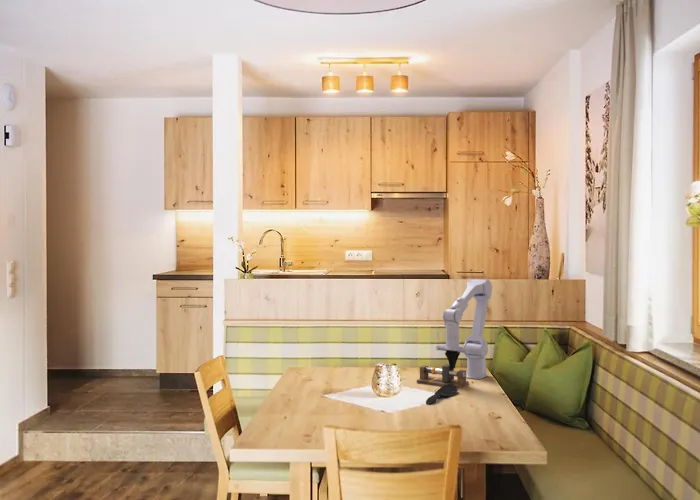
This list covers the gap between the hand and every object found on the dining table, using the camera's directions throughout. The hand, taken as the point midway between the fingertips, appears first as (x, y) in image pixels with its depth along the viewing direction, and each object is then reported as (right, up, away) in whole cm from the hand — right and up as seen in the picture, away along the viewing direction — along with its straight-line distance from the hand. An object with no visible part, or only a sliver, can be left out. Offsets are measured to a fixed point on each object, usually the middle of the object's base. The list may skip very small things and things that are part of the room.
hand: (452, 368), depth 289 cm
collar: (-2, -5, +1) cm, 6 cm away
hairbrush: (-8, -9, -21) cm, 24 cm away
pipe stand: (-4, -7, +3) cm, 9 cm away
